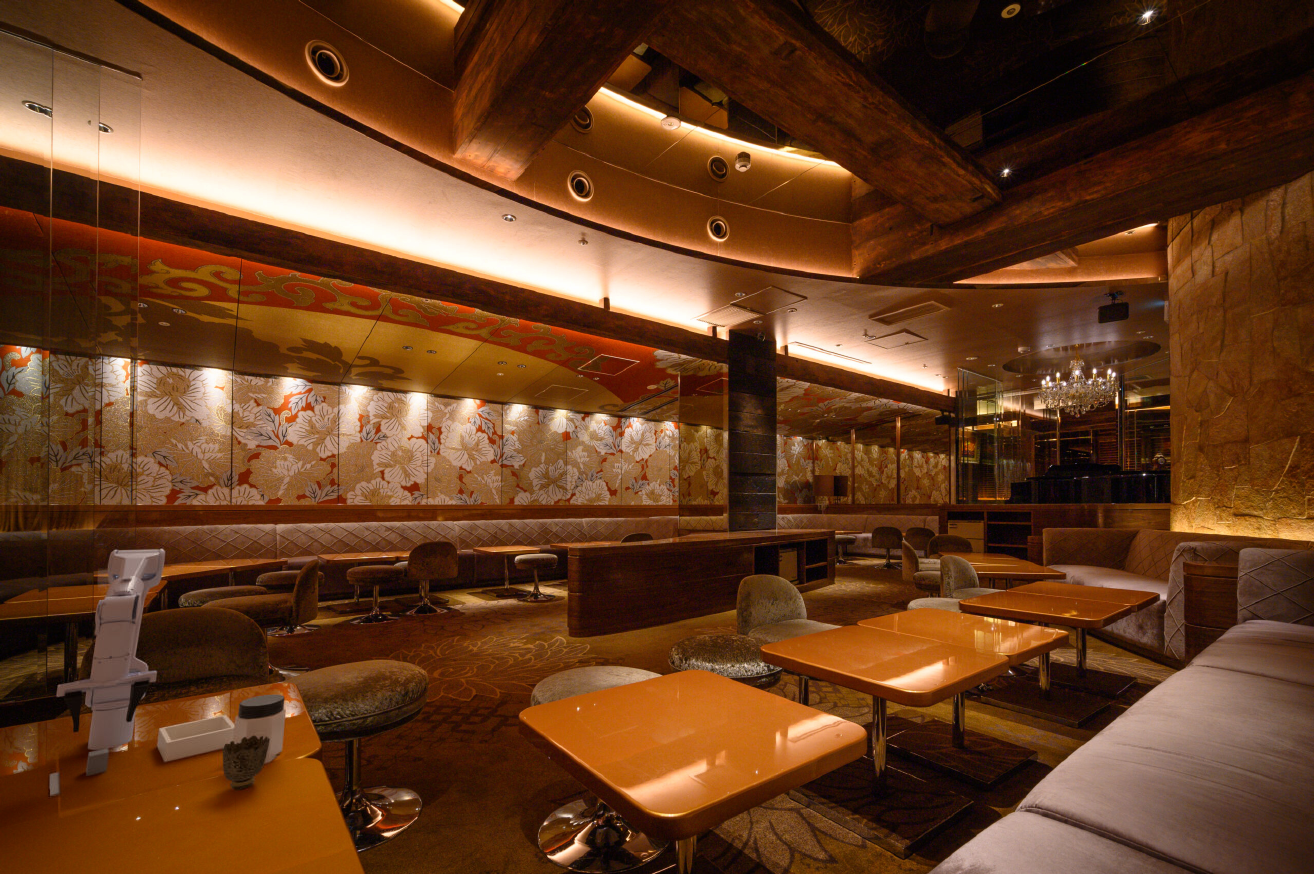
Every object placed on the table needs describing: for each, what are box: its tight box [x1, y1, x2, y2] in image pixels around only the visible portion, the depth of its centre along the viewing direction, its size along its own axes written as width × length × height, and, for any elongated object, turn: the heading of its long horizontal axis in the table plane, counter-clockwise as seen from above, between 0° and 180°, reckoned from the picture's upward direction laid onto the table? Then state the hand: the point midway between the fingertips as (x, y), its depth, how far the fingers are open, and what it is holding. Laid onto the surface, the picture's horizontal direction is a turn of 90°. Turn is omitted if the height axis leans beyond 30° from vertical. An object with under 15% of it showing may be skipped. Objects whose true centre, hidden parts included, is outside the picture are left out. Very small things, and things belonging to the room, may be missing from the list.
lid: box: [49, 748, 110, 797], centre depth 112 cm, size 13×13×5 cm
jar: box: [233, 694, 287, 765], centre depth 121 cm, size 9×8×12 cm
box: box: [156, 714, 235, 763], centre depth 125 cm, size 12×12×4 cm
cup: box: [222, 735, 270, 791], centre depth 108 cm, size 8×7×8 cm
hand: (102, 725), depth 113 cm, fingers open, 7 cm apart
